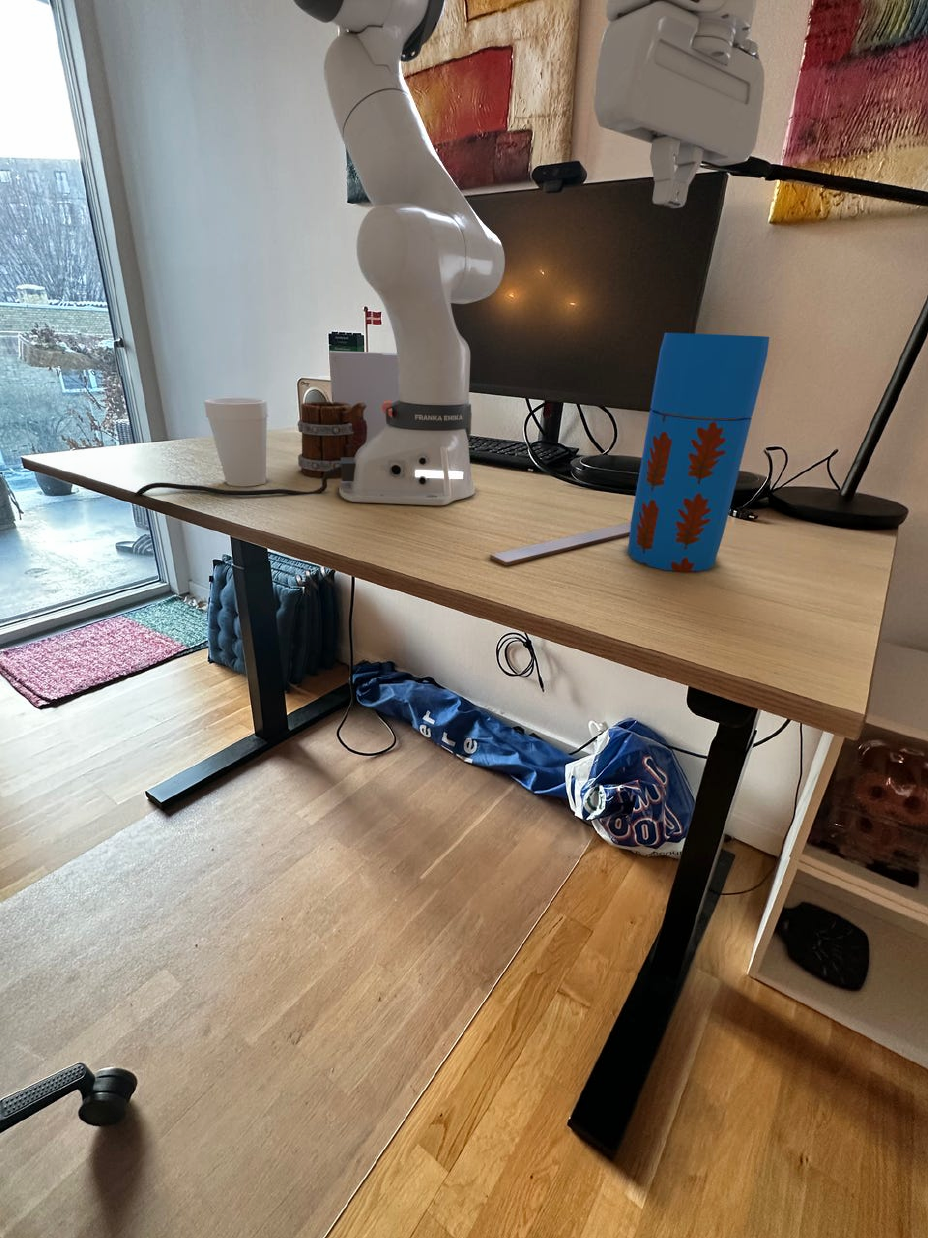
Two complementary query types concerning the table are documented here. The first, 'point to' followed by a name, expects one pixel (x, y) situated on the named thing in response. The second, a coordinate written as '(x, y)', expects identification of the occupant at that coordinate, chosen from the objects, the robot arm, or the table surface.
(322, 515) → the table surface
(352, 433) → the mug
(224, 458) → the foam cup
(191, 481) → the table surface
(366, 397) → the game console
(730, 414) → the thermos
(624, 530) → the ruler
